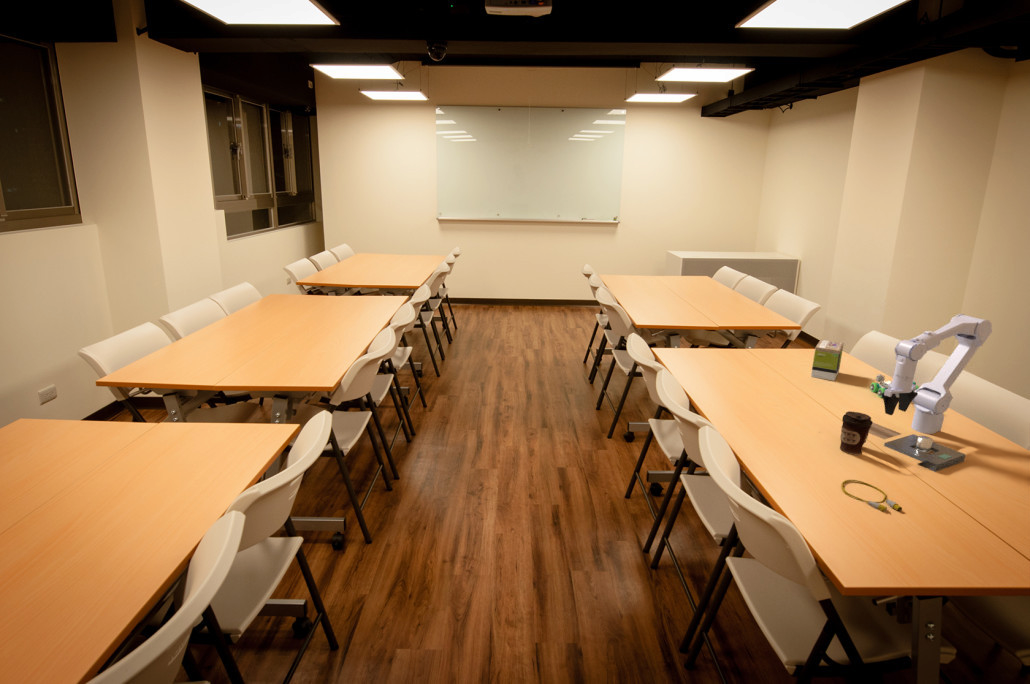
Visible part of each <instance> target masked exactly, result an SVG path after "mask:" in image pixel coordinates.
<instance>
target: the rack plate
mask: <svg viewBox="0 0 1030 684" xmlns="http://www.w3.org/2000/svg"><path fill="white" fill-rule="evenodd" d="M918 436H919V435H917V434H912V433H911V434H910V435H907V436H902V437H899V438H896V439H893V440H891V441H886V442H884V444H883V446H884V447H886V448H889V449H891V450H893V451H896V452H898V453H900V454H903V455H905V456H908V457H910V458H912V459H915V460H917V461H920V462H918V463H917V465H918V466H920V467H923V468H925V469H927V470H930V471H932V472H934V473H935V472H939V471H941V470H944V469H946V468H949V467H952V466H955V465H958V464H961V463H963V462H965V458H966V453H963V452H960V451H958V450H955V449H953V448H951V447H947V446H945V445H942V444H939V443H938V442H934V441H933V442H932V446H931V450H930V452H931V451H932V453H929V454H927V453H924V452H922V451H919V450H917V449H915V447H916V443H917V438H918Z"/></svg>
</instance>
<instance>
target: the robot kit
mask: <svg viewBox="0 0 1030 684" xmlns="http://www.w3.org/2000/svg"><path fill="white" fill-rule="evenodd" d="M885 377H886V376H885V375H882V374H879V373H878V374H877V375H876V379H875V380H876V381H877V382H871V383H870V391H871V393H877V396H878V398H881V399H883V398H882V396H881V395H882V393H884V392H885V390H886V389H888V388H889V386H888V384H892V380H887V381H885V379H886V378H885ZM913 384H914V385H917V383H916V382H915V381H913ZM919 388H920V387H919V386H918V385H917V386H916V390H917V389H919ZM916 390H915V391H916ZM915 391H913V392H915ZM896 397H898V398H899V394H896Z"/></svg>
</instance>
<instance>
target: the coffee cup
mask: <svg viewBox="0 0 1030 684" xmlns="http://www.w3.org/2000/svg"><path fill="white" fill-rule="evenodd" d="M872 423H874V421H872V417H871V416H870V415H868V414H867V413H863V412H857V411H851V410H850V411H846V412H845V414H844V415H843V416H842V425H841V430H840V445H839V449H840V450H841V451H842V452H844V453H847V454H850V455H855V456H860V455H862V454H863V451H862V448H863V446H864V444H865V443H867V439H868V437H869V434H870V433H869V429H870V428H871V425H872Z"/></svg>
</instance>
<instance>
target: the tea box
mask: <svg viewBox="0 0 1030 684" xmlns="http://www.w3.org/2000/svg"><path fill="white" fill-rule="evenodd" d="M843 348H844V342H840V341H839V342H837V341H832V340H824V339H820V340H819V341H818V343H817V344H816V346H815V348H814V355H813V361H812V368H811V374H810V377H811V378H816V379H820V380H827V381H832V382H833V381H834V382H835V381H836V379H837V376H838V375H839V373H840V368H841V362H842V355H843Z"/></svg>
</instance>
